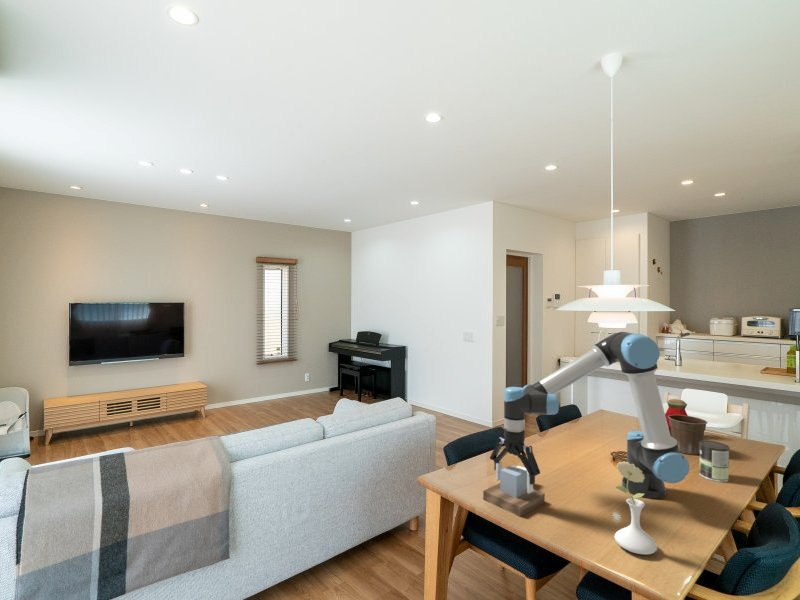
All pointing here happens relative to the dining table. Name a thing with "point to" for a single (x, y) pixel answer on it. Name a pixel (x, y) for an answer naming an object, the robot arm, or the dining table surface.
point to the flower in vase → (634, 516)
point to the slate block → (513, 481)
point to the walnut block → (514, 500)
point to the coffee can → (714, 461)
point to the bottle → (675, 410)
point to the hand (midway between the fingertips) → (513, 485)
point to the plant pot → (687, 432)
